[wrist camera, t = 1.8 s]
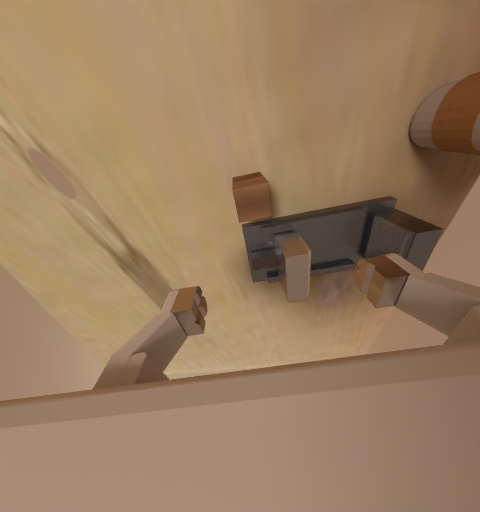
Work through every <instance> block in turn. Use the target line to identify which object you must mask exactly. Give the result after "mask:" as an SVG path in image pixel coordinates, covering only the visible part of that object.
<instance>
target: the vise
mask: <svg viewBox="0 0 480 512" xmlns="http://www.w3.org/2000/svg"><path fill="white" fill-rule="evenodd" d="M396 201H397V199H396V198H393V197H390V196H389V197H383V198H378V199H373V200H368V201H362V202H357V203H352V204H347V205H341V206H336V207H331V208H326V209H321V210H315V211H310V212H305V213H300V214H294V215H289V216H284V217H279V218H273V219H268V220H263V221H258V222H252V223H247V224H242V229H243V234H244V239H245V244H246V249H247V254H248V259H249V264H250V269H251V274H252V279H253V282H259V281H265V280H268V281H269V283H270V282H276V281H280V278H279V275H278V269H277V267H271V268H265V269H259V270H253V267H252V262H251V256H250V253H253V252H259V251H264V250H270V249H275V248H276V247H275V236H274V233H277V232H282V231H288V230H293V231H298V233H299V234H300V236H301V237H302V239H303V240H304V241H305V243H306V244H307V246H308V247H309V248H310V250H311V265H310V276H313V275H319V274H325V273H331V272H337V271H343V270H349V269H354V267H355V266H356V265H357V263H358V261H359V260H360V259H363V258H369V257H375V256H381V255H385V254H390V253H395V254H398V255H399V256H401V257H402V258H404V259H405V260H407V261H408V262H409V263H411V264H412V265H414V266H415V267H417V268H418V269H420V270H421V271H423V269H424V267H425V265H426V263H427V261H428V259H429V257H430V255H431V253H432V251H433V249H434V247H435V245H436V243H437V241H438V238H439V236H440V234H441V232H442V230H443V229H442V228H440V227H437V226H435V225H433V224H430V223H428V222H425V221H423V220H421V219H418V218H416V217H414V216H411V215H409V214H406V213H404V212H402V211H399V210H397V209H395V204H396Z"/></svg>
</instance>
